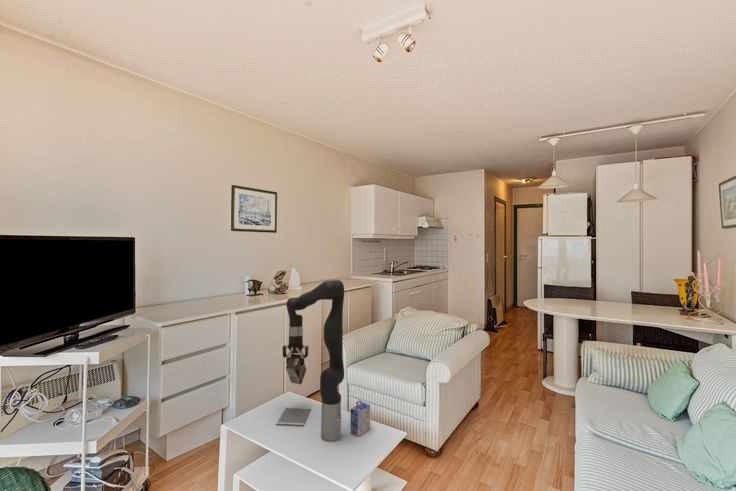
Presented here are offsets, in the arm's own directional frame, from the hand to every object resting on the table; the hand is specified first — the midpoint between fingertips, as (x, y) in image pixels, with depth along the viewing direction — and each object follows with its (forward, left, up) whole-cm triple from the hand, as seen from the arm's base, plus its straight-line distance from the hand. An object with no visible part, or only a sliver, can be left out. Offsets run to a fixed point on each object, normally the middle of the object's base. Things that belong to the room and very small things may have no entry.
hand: (295, 365), depth 182 cm
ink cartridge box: (-37, +13, -27) cm, 48 cm away
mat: (-1, +2, -27) cm, 27 cm away
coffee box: (0, -9, -9) cm, 13 cm away
